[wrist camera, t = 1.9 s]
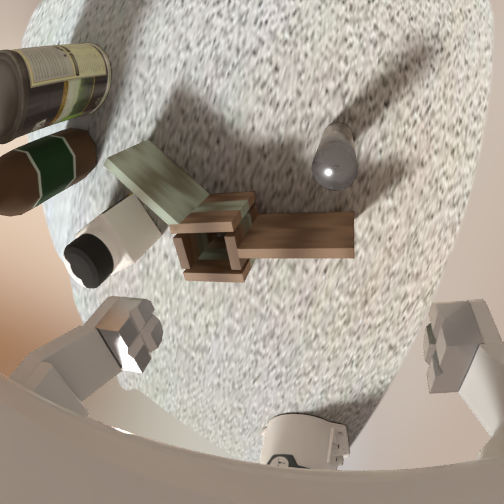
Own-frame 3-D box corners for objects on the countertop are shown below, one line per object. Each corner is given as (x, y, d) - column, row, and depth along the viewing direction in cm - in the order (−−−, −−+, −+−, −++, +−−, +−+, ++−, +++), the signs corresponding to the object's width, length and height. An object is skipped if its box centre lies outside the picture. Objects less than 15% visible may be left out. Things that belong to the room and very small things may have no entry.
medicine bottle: (134, 190, 40) (73, 233, 30) (163, 235, 42) (112, 287, 32) (105, 212, 43) (49, 255, 33) (132, 252, 45) (82, 301, 36)
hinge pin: (357, 145, 30) (364, 181, 20) (330, 155, 31) (323, 196, 21) (345, 118, 29) (346, 140, 19) (318, 129, 30) (304, 156, 20)
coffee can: (113, 112, 35) (27, 142, 23) (61, 117, 37) (-18, 147, 25) (112, 35, 29) (21, 38, 18) (58, 50, 31) (-25, 63, 20)
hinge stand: (171, 244, 43) (140, 278, 36) (143, 140, 36) (102, 159, 29) (354, 242, 35) (354, 284, 29) (346, 113, 28) (348, 124, 22)
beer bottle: (90, 119, 36) (-69, 188, 16) (105, 172, 39) (-39, 266, 20) (56, 134, 38) (-81, 202, 19) (70, 181, 42) (-56, 265, 22)
